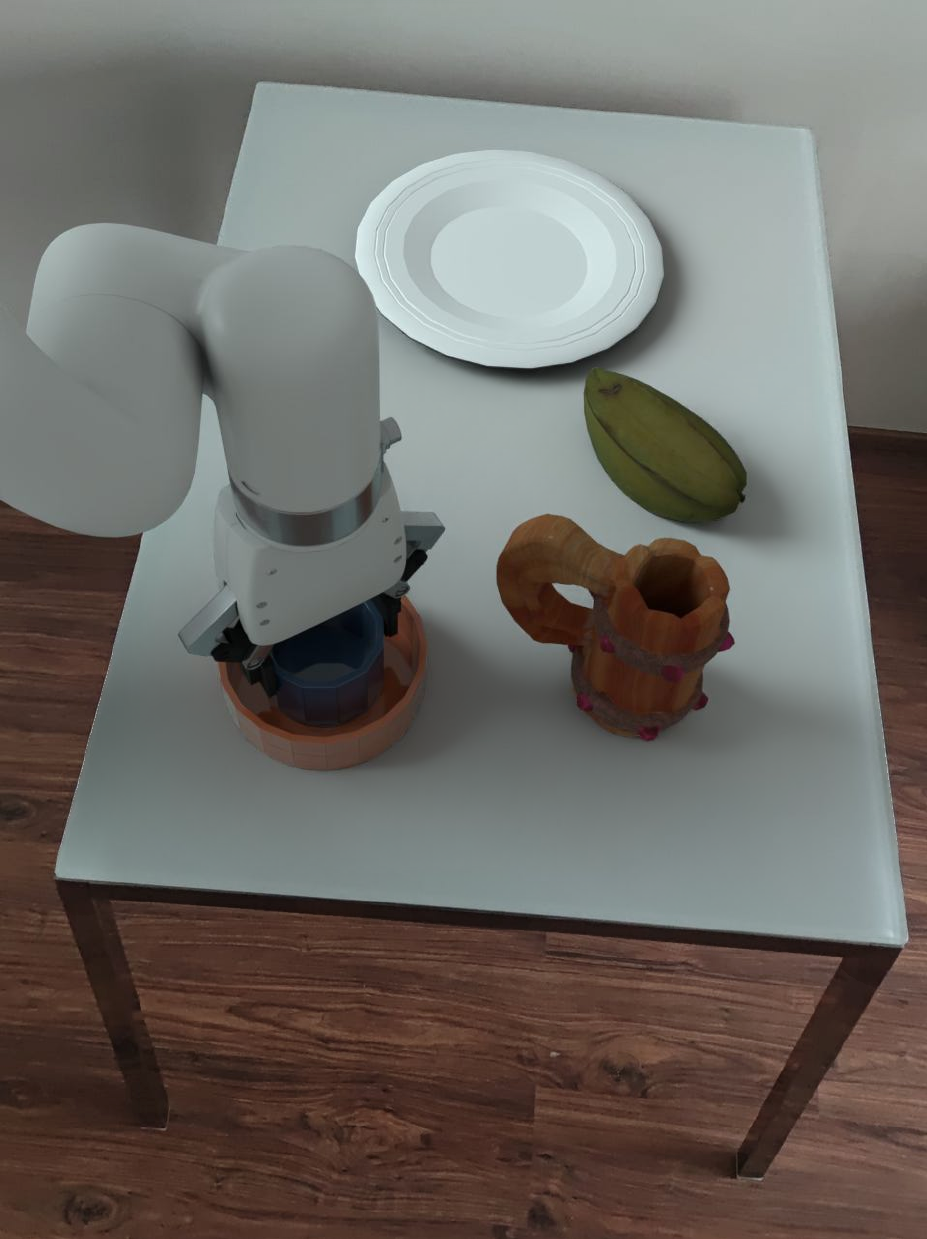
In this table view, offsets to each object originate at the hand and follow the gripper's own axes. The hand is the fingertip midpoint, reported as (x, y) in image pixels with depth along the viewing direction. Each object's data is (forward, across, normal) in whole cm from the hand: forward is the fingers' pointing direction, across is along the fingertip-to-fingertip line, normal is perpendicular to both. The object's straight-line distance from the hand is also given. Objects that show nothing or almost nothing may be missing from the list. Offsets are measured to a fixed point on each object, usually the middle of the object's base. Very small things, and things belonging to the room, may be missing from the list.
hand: (322, 647), depth 76 cm
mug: (+4, -15, +9) cm, 18 cm away
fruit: (+4, -29, -3) cm, 29 cm away
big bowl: (+4, 0, 0) cm, 4 cm away
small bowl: (+4, 0, 0) cm, 4 cm away
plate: (+4, -31, -26) cm, 41 cm away
